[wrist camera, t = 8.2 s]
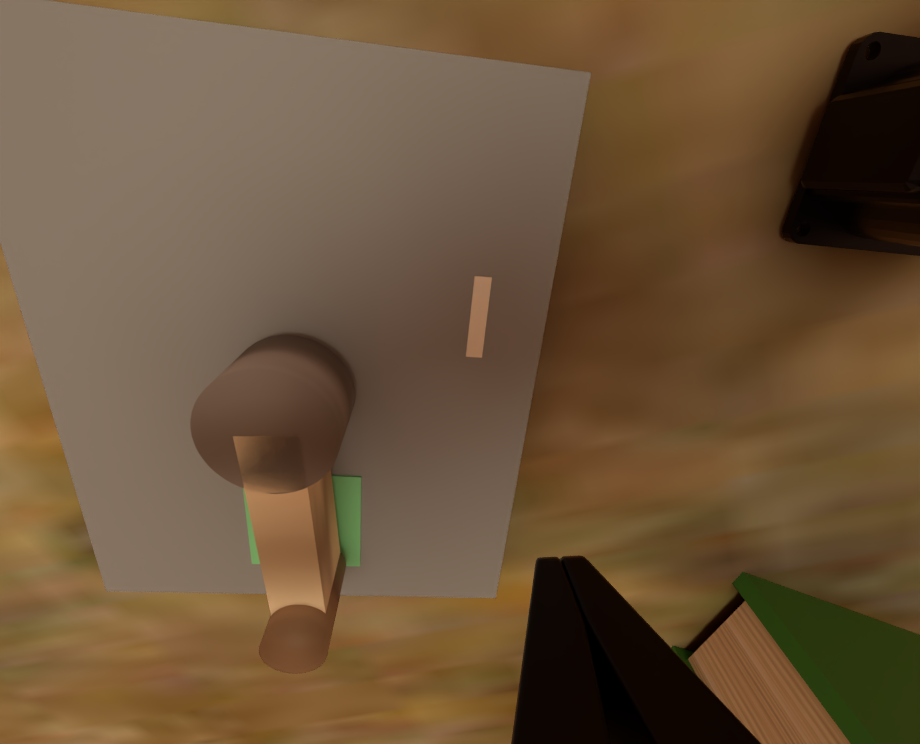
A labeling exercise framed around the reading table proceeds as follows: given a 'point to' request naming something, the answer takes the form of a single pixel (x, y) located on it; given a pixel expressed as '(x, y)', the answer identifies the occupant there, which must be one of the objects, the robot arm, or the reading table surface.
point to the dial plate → (282, 276)
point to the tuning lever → (284, 481)
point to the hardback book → (811, 670)
